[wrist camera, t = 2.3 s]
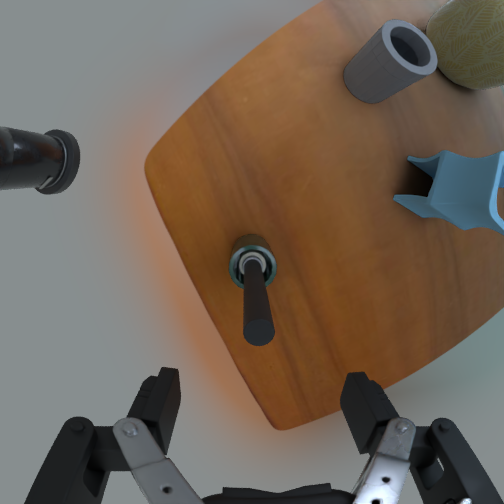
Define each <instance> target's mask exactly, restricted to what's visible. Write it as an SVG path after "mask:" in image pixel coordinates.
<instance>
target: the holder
mask: <svg viewBox="0 0 504 504" xmlns="http://www.w3.org/2000/svg"><path fill="white" fill-rule="evenodd" d="M250 249H252V250H259V251H262V252H263V254H264V258H265V261H266V268H265V271H264V272H263V276H264V281H265V286H266V287H267V286H268V285H269V284H270V283H271V282H272V281H273V279H274V277H275V275H276V270H277V264H276V261H275V258H274V255H273V253H272V251H271V248H270V246H269V244H268V243H267V241H266V240H265V239H264V238H262V237H261V236H258V235H255V234H248V235H245V236H242V237H241V238H239V239H238V240H237V241H236V242H235V244H234V246H233V249H232V253H231V257H230V262H229V273H230V276H231V279H232V281H233V282H234V283H235V284H236V285H237V286H238V287H240V288H242V289H244V275H243V274H242V272H241V271H240V268H239V259H240V254H241V253H242V252H244V251H247V250H250Z"/></svg>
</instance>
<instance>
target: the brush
mask: <svg viewBox="0 0 504 504" xmlns="http://www.w3.org/2000/svg"><path fill="white" fill-rule="evenodd" d="M239 268H240V271H241V272H242V274H243V275H244V320H243V334H244V338H245V339H246V341H247V342H248V343H250V344H252V345H255V346H262V345H266V344H268V343H269V342H270V341H271V340H272V339H273V337H274V334H275V329H274V324H273V320H272V315H271V310H270V305H269V300H268V295H267V291H266V286H265V281H264V276H263V272H264V271H265V268H266V261H265V258H264V254H263V252H262V251H259V250H252V249H250V250H247V251H244V252H242V253H241V254H240V259H239Z"/></svg>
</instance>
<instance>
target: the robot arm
mask: <svg viewBox="0 0 504 504" xmlns="http://www.w3.org/2000/svg"><path fill="white" fill-rule="evenodd" d="M67 162H68V151H67V147H66V145H65V143H64V141H63V140H62V139H61V138H59V137H56V136H49V135H44V134H39V133H34V132H29V131H23V130H18V129H13V128H7V127H0V190H8V189H20V188H37V187H40V188H39V189H43V188H47V187H52V186H54V185H55V184H57V183H58V182H59V181H60V179H61V178H62V176H63V175H64V172H65V170H66V167H67ZM180 401H181V392H180V381H179V371H178V369H175V368H167V367H162V368H161V370H160V372H159V375H158V377H156V376H150V377H148V378H147V379H146V380H145V381H144V382H143V383H142V385H141V387H140V390H139V392H138V394H137V396H136V398H135V400H134V402H133V404H132V406H131V409H130V411H129V413H128V415H127V417H126V418H123V419H121V420H119V421H117V422H116V423H115V425H114V426H108V427H107V426H105V427H104V426H94V425H93V423H92V422H91V421H90V420H89V419H87V418H84V417H73V418H70V419H68V420H67V421H66V422H65V423H64V425H63V427H62V429H61V430H60V433H59V434H58V436H57V438H56V440H55V441H54V443H53V446H52V447H51V449H50V451H49V453H48V455H47V457H46V459H45V461H44V463H43V465H42V467H41V469H40V471H39V473H38V475H37V477H36V479H35V481H34V483H33V485H32V487H31V489H30V492H29V494H28V496H27V498H26V501H25V503H24V504H101V501H102V498H103V495H104V491H105V488H106V485H107V481H108V478H109V475H110V472H111V471H131V473H132V475H133V477H134V479H135V481H136V482H137V484H138V486H139V488H140V490H141V491H142V493H143V495H144V496H145V498H146V500H147V501H148V503H149V504H397V501H398V499H399V496H400V493H401V491H402V488H403V485H404V482H405V479H406V476H407V473H408V470H409V469H410V472H411V474H412V476H413V479H414V481H415V483H416V485H417V488H418V490H419V493H420V495H421V498H422V500H423V503H424V504H504V503H503V501H502V499H501V497H500V496H499V494H498V492H497V490H496V488H495V487H494V485H493V483H492V482H491V480H490V478H489V476H488V475H487V473H486V472H485V470H484V468H483V467H482V465H481V463H480V462H479V460H478V458H477V457H476V455H475V454H474V452H473V451H472V449H471V448H470V446H469V444H468V443H467V441H466V440H465V438H464V437H463V435H462V434H461V432H460V431H459V429H458V428H457V426H456V425H455V424H454V422H452V421H451V420H449V419H446V418H438V419H435V420H434V421H433V422H432V424H431V426H428V427H427V426H426V427H425V426H423V427H422V426H421V427H419V426H415V425H414V423H413V422H412V421H410V420H409V419H407V418H402V417H399V415H398V413H397V412H396V410H395V408H394V407H393V405H392V404H391V402H390V400H389V399H388V397H387V395H386V394H385V393H384V391H383V389H382V388H381V386H380V385H379V384H377V383H376V382H375V381H373V380H371V381H370V380H369V379H368V377H367V376H366V374H365V372H353V373H348V375H347V377H346V381H345V384H344V387H343V391H342V394H341V398H340V405H341V409H342V411H343V413H344V416H345V418H346V421H347V423H348V426H349V428H350V431H351V433H352V435H353V438H354V440H355V443H356V445H357V448H358V451H359V453H360V454H365V453H369V455H370V457H369V459H368V461H367V463H366V465H365V467H364V469H363V471H362V473H361V475H360V477H359V479H358V481H357V483H356V485H355V486H354V488H353V490H352V491H351V493H349V492H346V491H342V490H335V489H331V485H330V483H325V484H318V485H309V486H303V487H300V488H296V489H293V490H289V491H285V492H282V493H273V492H268V491H262V490H256V489H251V488H228V487H223V493H221V494H215V495H211V496H207V497H205V498H203V499H200V497H199V496H198V495H197V494H196V492H195V491H194V490H193V489H192V488H191V486H190V485H189V483H188V482H187V481H186V480H185V478H184V477H183V476H182V474H181V473H180V472H179V470H178V469H177V467H176V466H175V465H174V463H173V462H172V461H171V459H170V458H166V457H165V455H167V451H168V448H169V444H170V440H171V436H172V432H173V429H174V425H175V421H176V417H177V413H178V410H179V406H180ZM438 458H439V459H440V461H441V463H442V465H443V468H444V471H443V470H442V468H441V466H440V464H439V462H438V460H437V459H438Z"/></svg>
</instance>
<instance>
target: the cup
mask: <svg viewBox="0 0 504 504" xmlns="http://www.w3.org/2000/svg"><path fill="white" fill-rule="evenodd" d="M437 61H438V60H437V55H436V52H435V49H434V47H433V45H432V43H431V42H430V40H429V39H428V38H427V37H426V35H425V34H423V33H422V32H421V31H420V30H419V29H418V28H416V27H415V26H413V25H412V24H410V23H407V22H405V21H402V20H389V21H387V22H386V23H385V24H384V25H383V26H382V27H381V28H380V29H379V30H378V31H377V32H376V33H375V34H374V35H373V36H372V38H371V39H370V40H369V41H368V42H367V43H366V44H365V45H364V46H363V47H362V49H361V50H360V51H359V52H358V53H357V54H356V55H355V56H354V57H353V59H352V60H351V61H350V62H349V63H348V64H347V66H346V67H345V69H344V81H345V84H346V86H347V88H348V89H349V91H350V92H351V93H352V94H353V95H354V96H355V97H356V98H358V99H359V100H361V101H364V102H366V103H379V102H381V101H383V100H385V99H387V98H388V97H390V96H392V95H394V94H395V93H397V92H399V91H401V90H402V89H404V88H406V87H408V86H409V85H411V84H413V83H415V82H417V81H419V80H420V79H422V78H424V77H426V76H428V75H430V74H432V73H433V72H434V71H435V69H436V67H437Z"/></svg>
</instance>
